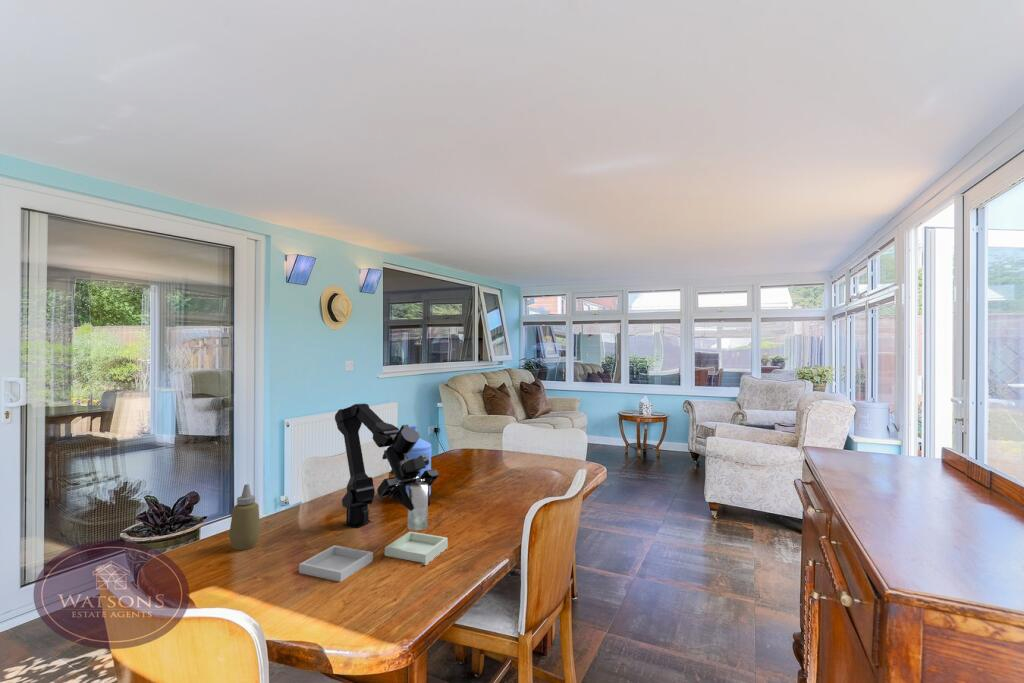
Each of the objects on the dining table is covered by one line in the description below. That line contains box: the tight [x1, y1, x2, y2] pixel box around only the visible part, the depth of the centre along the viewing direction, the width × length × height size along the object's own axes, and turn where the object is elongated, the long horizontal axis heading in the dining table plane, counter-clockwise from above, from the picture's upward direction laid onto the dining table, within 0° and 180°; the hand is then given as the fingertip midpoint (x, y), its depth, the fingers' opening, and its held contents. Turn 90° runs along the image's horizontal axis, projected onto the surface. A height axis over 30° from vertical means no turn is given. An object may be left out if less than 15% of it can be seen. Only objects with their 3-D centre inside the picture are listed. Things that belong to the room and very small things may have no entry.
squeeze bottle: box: [228, 483, 261, 551], centre depth 138 cm, size 8×8×18 cm
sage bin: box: [384, 531, 449, 566], centre depth 136 cm, size 13×13×3 cm
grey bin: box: [298, 544, 374, 582], centre depth 124 cm, size 13×13×3 cm
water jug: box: [406, 425, 433, 496], centre depth 191 cm, size 16×16×28 cm
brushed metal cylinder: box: [407, 482, 429, 531], centre depth 136 cm, size 6×6×12 cm
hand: (420, 507), depth 135 cm, fingers closed on brushed metal cylinder, 6 cm apart
